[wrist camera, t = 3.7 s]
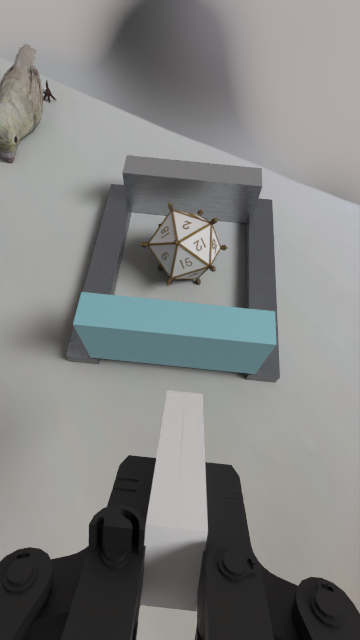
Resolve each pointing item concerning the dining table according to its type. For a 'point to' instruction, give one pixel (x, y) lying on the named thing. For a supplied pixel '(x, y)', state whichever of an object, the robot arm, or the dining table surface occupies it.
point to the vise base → (191, 196)
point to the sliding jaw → (175, 332)
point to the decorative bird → (20, 102)
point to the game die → (185, 245)
